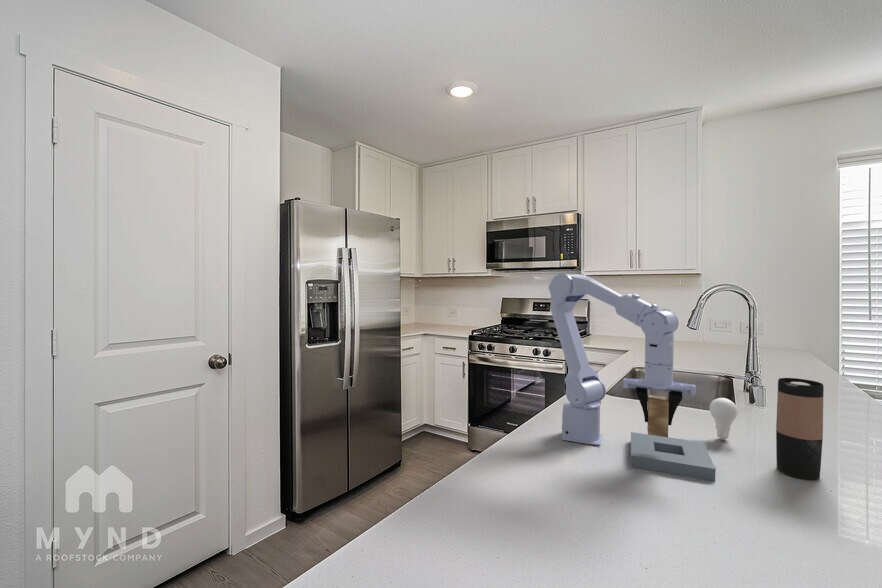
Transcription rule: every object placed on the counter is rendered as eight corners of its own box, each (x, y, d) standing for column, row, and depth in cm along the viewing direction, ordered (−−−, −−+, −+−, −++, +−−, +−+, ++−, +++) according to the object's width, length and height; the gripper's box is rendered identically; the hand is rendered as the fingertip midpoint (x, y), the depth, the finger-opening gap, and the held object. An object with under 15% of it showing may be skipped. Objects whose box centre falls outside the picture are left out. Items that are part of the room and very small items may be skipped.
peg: (647, 434, 93) (648, 399, 93) (647, 428, 97) (648, 395, 97) (668, 437, 92) (668, 401, 92) (666, 431, 95) (667, 397, 95)
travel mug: (810, 468, 92) (812, 379, 92) (829, 483, 85) (832, 387, 85) (769, 463, 95) (771, 376, 94) (784, 478, 88) (786, 384, 87)
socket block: (630, 466, 93) (631, 455, 93) (630, 441, 107) (631, 432, 107) (715, 480, 86) (715, 469, 86) (703, 452, 101) (703, 442, 101)
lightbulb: (741, 445, 106) (742, 402, 105) (714, 443, 107) (715, 400, 107) (730, 436, 112) (731, 395, 111) (704, 434, 113) (705, 394, 113)
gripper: (623, 363, 93) (622, 422, 94) (698, 369, 87) (697, 433, 88) (624, 358, 100) (623, 414, 100) (694, 363, 94) (692, 422, 94)
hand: (657, 422), depth 94 cm, fingers closed on peg, 4 cm apart
